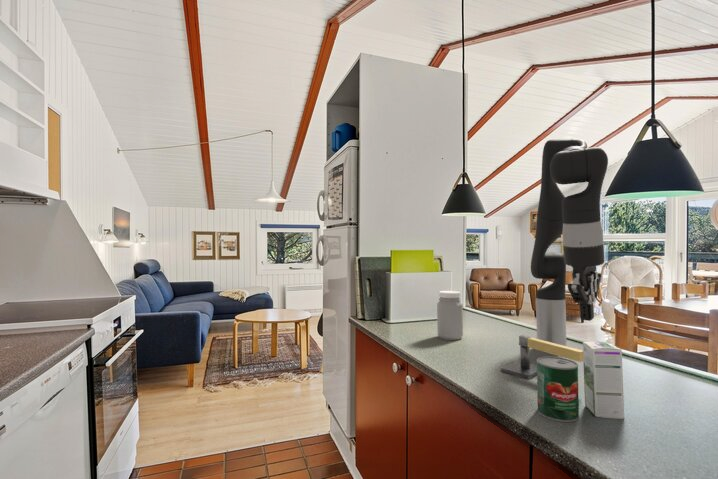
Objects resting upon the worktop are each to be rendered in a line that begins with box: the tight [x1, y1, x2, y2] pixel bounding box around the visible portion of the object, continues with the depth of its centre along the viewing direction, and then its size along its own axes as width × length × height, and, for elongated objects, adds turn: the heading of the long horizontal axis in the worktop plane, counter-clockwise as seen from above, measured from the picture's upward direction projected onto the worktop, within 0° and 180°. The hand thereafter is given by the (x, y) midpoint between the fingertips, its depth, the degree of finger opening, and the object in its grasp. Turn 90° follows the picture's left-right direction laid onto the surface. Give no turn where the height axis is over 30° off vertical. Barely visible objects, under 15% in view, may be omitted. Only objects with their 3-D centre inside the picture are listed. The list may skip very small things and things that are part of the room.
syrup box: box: [582, 341, 625, 420], centre depth 80 cm, size 6×6×14 cm
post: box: [500, 345, 537, 380], centre depth 106 cm, size 10×8×7 cm
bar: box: [518, 335, 583, 363], centre depth 100 cm, size 18×3×2 cm, turn 26°
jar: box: [436, 290, 464, 341], centre depth 146 cm, size 10×10×18 cm
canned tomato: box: [536, 356, 580, 423], centre depth 79 cm, size 8×8×11 cm
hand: (587, 319), depth 82 cm, fingers closed
